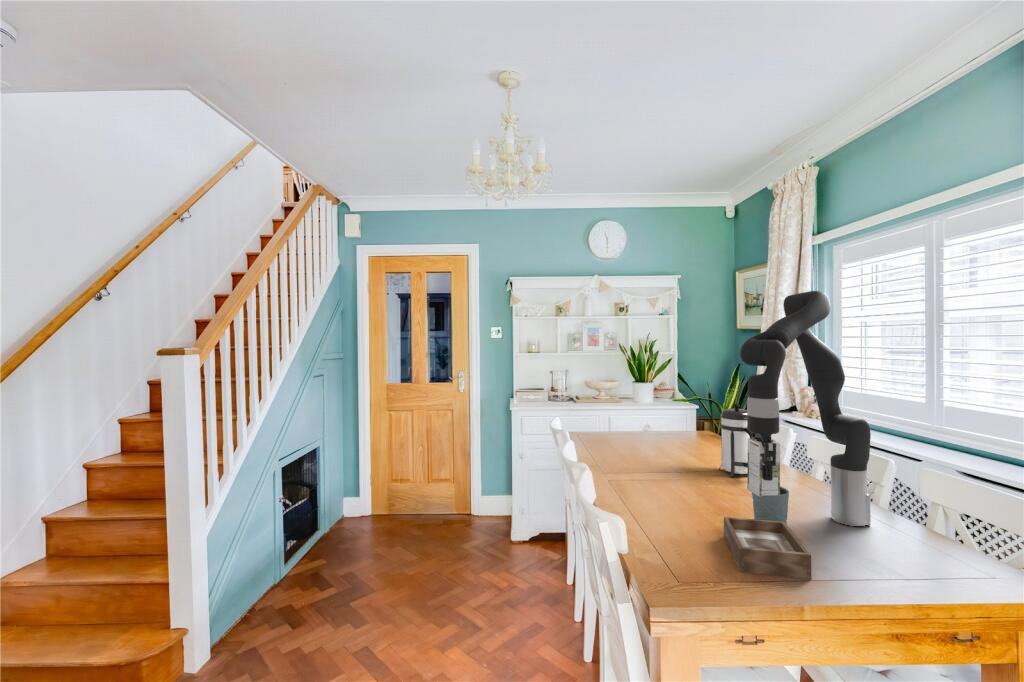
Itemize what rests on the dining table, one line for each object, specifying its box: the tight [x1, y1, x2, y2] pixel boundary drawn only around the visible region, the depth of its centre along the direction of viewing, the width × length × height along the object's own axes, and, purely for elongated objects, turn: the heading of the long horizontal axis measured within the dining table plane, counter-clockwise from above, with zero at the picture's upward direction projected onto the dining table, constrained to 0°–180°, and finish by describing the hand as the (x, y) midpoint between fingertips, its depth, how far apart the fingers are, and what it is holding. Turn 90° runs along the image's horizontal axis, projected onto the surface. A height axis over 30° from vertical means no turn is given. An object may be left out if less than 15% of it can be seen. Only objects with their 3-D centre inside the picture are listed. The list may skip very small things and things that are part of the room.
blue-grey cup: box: [751, 485, 790, 525], centre depth 139 cm, size 10×10×12 cm
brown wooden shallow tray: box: [723, 516, 813, 580], centre depth 121 cm, size 16×20×6 cm
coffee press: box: [718, 402, 752, 479], centre depth 190 cm, size 17×16×30 cm
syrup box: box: [746, 438, 781, 497], centre depth 121 cm, size 6×6×14 cm
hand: (763, 475), depth 121 cm, fingers closed on syrup box, 6 cm apart
